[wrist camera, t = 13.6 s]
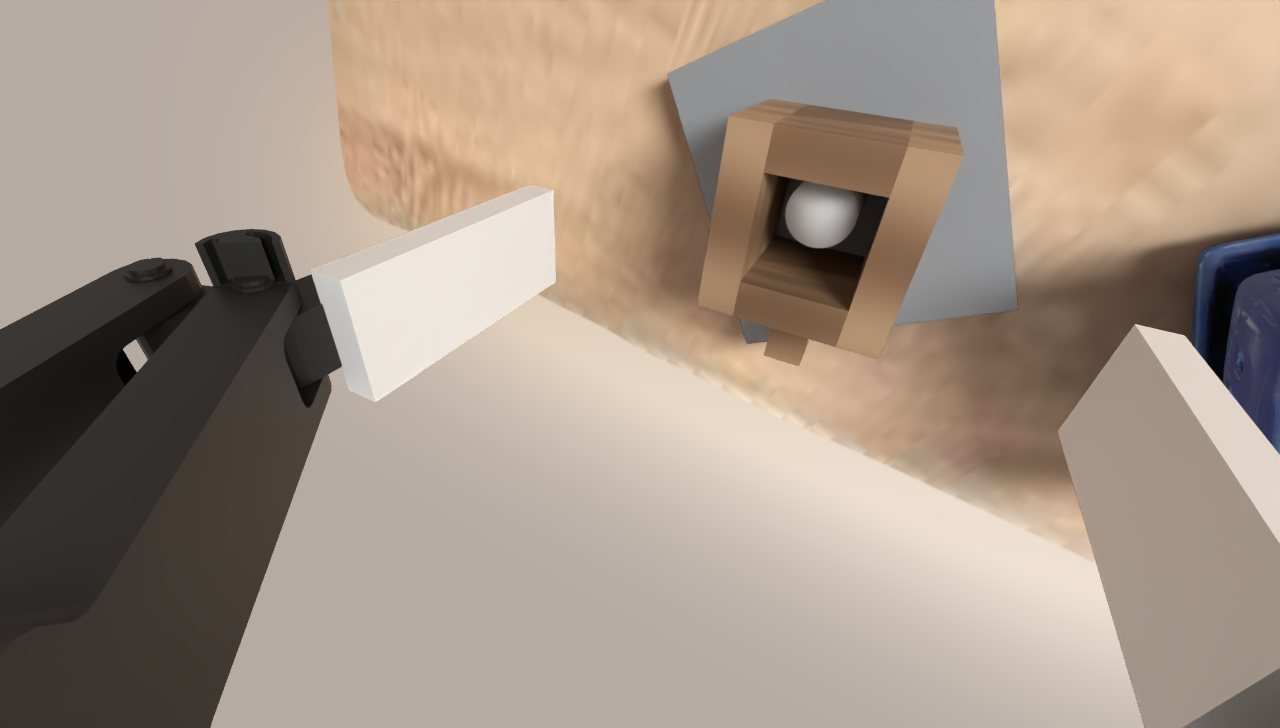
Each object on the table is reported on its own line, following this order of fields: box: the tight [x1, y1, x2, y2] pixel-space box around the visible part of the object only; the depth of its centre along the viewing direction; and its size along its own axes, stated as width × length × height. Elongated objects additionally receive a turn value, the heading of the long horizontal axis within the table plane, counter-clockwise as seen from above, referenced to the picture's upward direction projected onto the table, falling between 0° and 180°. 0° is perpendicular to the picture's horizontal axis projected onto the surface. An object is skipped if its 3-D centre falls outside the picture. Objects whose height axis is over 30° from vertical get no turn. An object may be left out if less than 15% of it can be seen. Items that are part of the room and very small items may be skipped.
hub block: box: [697, 99, 964, 366], centre depth 25 cm, size 12×8×7 cm
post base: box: [667, 0, 1018, 344], centre depth 25 cm, size 16×14×7 cm
